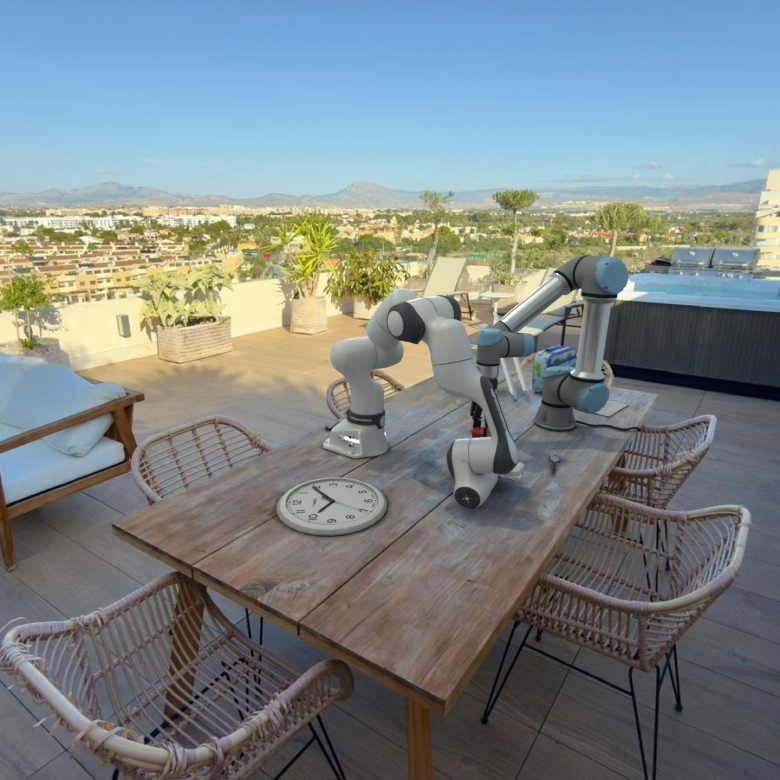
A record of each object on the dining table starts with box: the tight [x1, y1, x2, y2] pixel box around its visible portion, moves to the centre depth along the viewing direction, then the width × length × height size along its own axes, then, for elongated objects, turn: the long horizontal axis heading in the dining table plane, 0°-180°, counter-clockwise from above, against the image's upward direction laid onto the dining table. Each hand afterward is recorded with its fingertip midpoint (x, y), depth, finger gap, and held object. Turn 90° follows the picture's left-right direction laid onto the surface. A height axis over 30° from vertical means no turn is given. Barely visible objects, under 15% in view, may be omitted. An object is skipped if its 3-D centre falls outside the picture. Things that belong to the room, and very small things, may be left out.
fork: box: [550, 450, 560, 475], centre depth 169 cm, size 3×16×2 cm, turn 160°
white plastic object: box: [471, 310, 531, 400], centre depth 245 cm, size 37×45×31 cm
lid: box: [471, 426, 484, 438], centre depth 176 cm, size 6×7×2 cm
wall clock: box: [276, 476, 388, 537], centre depth 142 cm, size 30×2×30 cm
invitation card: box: [595, 399, 629, 418], centre depth 226 cm, size 21×1×15 cm
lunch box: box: [531, 345, 577, 394], centre depth 245 cm, size 26×11×21 cm, turn 134°
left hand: (494, 455), depth 161 cm, fingers closed on jar, 5 cm apart
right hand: (480, 441), depth 177 cm, fingers closed on lid, 6 cm apart
